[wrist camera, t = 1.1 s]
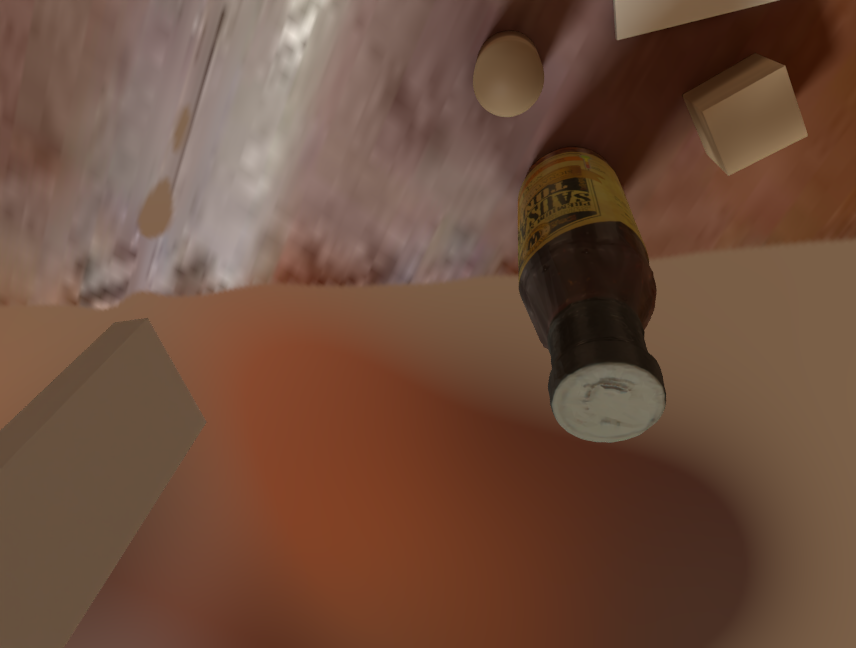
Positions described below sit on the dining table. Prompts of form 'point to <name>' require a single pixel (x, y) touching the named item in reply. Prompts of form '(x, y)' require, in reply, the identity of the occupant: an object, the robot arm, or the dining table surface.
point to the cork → (508, 74)
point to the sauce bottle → (589, 296)
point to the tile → (669, 13)
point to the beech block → (746, 113)
